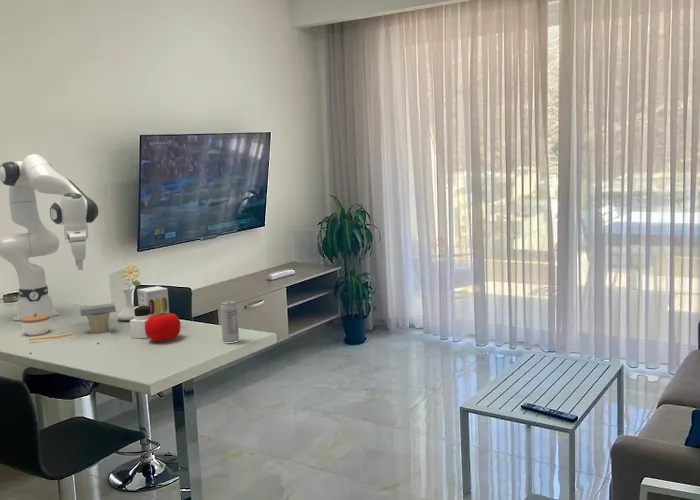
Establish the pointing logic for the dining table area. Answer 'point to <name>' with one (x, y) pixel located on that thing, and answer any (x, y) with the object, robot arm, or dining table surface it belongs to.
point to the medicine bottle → (139, 322)
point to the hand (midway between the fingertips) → (79, 267)
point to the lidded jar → (36, 324)
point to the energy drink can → (229, 321)
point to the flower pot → (99, 322)
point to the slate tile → (97, 309)
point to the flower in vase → (129, 291)
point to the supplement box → (154, 299)
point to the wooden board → (51, 337)
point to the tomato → (162, 326)
